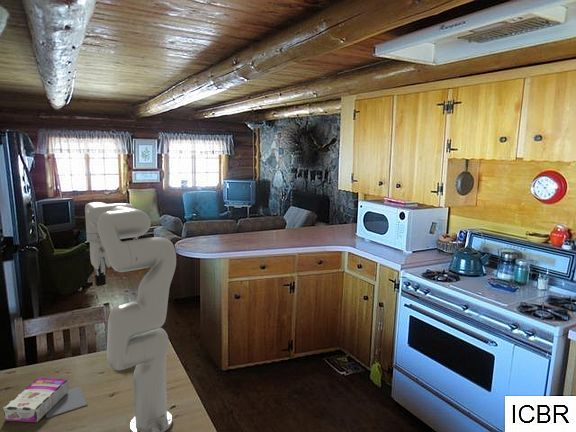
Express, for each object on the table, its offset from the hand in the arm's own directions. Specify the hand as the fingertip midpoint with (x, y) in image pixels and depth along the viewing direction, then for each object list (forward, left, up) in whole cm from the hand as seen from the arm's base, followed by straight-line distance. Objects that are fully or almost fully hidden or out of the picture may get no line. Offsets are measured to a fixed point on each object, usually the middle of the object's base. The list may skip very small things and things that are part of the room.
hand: (100, 284), depth 154 cm
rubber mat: (-12, +16, -35) cm, 40 cm away
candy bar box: (-4, +17, -32) cm, 37 cm away
